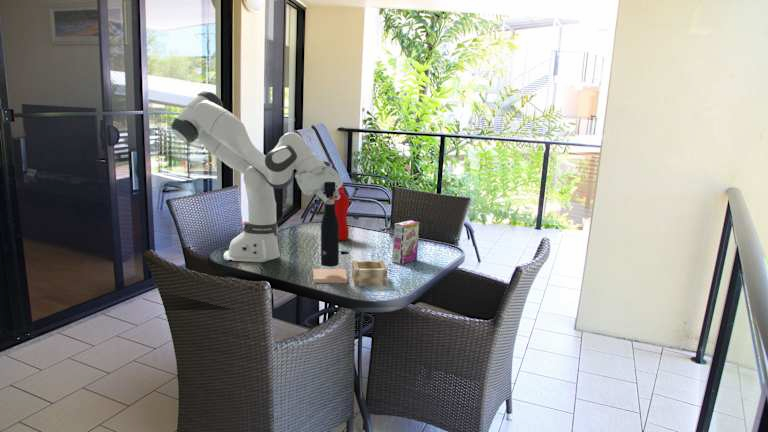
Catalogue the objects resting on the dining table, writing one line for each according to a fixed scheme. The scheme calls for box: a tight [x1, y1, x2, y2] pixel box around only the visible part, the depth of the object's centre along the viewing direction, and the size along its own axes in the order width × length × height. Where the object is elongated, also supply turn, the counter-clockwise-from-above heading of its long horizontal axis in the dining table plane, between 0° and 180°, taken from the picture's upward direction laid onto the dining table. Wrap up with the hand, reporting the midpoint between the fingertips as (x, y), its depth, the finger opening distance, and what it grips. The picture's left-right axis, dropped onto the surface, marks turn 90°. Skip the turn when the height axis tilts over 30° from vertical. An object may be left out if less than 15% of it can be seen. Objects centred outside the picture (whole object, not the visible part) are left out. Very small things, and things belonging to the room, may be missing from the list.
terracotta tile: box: [312, 268, 348, 284], centre depth 213 cm, size 12×12×2 cm
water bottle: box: [333, 185, 350, 242], centre depth 267 cm, size 9×11×25 cm
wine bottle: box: [320, 182, 340, 267], centre depth 208 cm, size 6×6×30 cm
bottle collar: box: [351, 260, 388, 287], centre depth 210 cm, size 12×12×6 cm
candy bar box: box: [391, 220, 420, 265], centre depth 236 cm, size 11×5×16 cm, turn 141°
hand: (332, 199), depth 206 cm, fingers open, 5 cm apart
